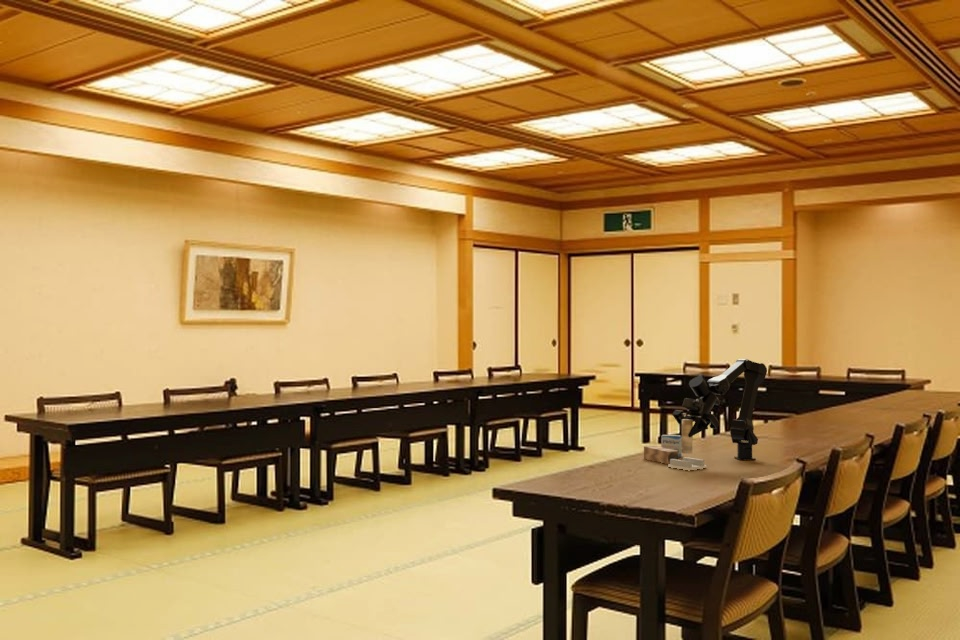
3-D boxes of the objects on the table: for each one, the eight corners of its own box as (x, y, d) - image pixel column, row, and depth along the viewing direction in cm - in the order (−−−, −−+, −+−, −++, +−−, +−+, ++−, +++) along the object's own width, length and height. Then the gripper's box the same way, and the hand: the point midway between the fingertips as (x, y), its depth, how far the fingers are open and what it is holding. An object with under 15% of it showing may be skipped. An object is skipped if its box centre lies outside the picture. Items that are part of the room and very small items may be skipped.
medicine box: (661, 456, 364) (661, 435, 364) (662, 455, 369) (662, 434, 369) (681, 457, 362) (680, 436, 362) (681, 456, 366) (681, 434, 366)
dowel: (679, 452, 339) (679, 419, 339) (688, 452, 340) (689, 419, 340) (684, 453, 335) (685, 420, 335) (694, 453, 336) (694, 420, 336)
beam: (643, 459, 358) (643, 446, 358) (654, 458, 360) (654, 445, 360) (668, 464, 343) (668, 451, 344) (678, 464, 346) (678, 451, 346)
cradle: (685, 465, 343) (685, 456, 343) (706, 468, 335) (706, 459, 335) (667, 467, 337) (667, 459, 337) (688, 471, 329) (688, 462, 329)
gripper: (675, 389, 347) (655, 419, 341) (714, 392, 332) (693, 423, 326) (689, 408, 352) (669, 438, 345) (727, 412, 337) (707, 443, 330)
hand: (684, 435), depth 337 cm, fingers closed on dowel, 4 cm apart
